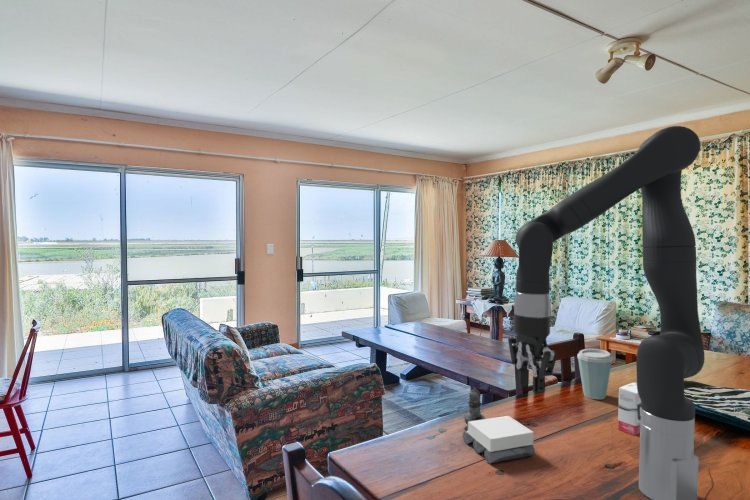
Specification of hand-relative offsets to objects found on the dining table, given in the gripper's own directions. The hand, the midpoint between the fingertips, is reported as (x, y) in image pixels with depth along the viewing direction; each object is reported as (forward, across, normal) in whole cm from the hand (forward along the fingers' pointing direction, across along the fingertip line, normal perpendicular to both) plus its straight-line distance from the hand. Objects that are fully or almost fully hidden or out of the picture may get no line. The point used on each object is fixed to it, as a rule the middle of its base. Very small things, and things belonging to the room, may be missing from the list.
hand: (530, 388), depth 97 cm
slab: (+16, +11, 0) cm, 20 cm away
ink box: (+19, +10, -43) cm, 48 cm away
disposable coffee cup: (+19, +33, -52) cm, 65 cm away
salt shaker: (+19, +23, 0) cm, 30 cm away
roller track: (+19, +11, 0) cm, 22 cm away
